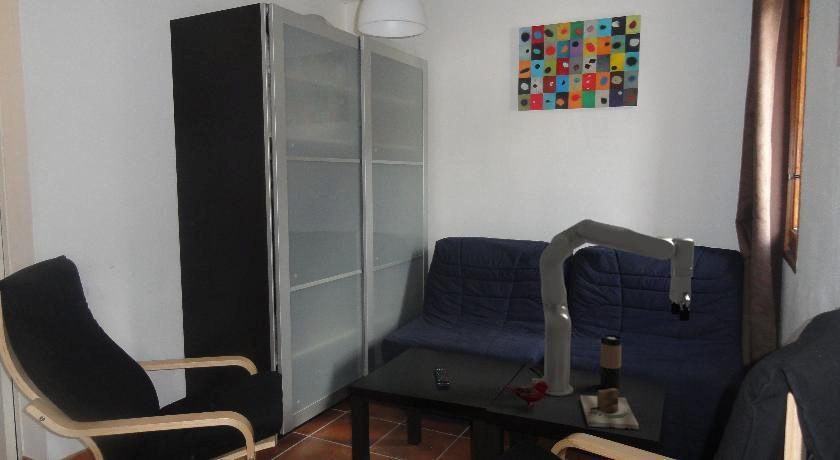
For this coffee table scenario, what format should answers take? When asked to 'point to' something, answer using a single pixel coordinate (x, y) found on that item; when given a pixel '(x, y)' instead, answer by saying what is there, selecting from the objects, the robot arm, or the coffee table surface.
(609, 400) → the knob
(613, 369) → the travel mug
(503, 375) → the coffee table surface
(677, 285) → the robot arm
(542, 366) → the phone
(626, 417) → the dial board
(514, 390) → the decorative bird figurine
